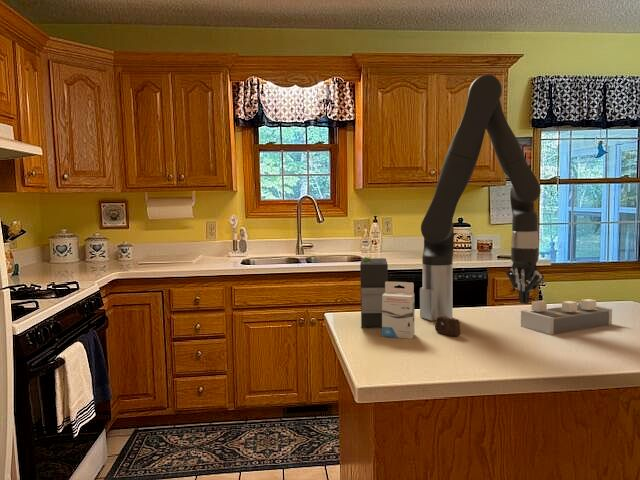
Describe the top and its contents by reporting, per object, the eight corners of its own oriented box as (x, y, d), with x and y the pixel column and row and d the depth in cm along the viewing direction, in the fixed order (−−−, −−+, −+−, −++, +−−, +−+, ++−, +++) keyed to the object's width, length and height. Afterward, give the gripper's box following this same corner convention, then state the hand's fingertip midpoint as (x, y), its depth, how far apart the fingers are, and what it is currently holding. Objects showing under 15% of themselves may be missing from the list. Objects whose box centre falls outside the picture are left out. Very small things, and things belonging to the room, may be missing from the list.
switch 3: (588, 309, 142) (588, 301, 142) (580, 308, 145) (581, 299, 145) (596, 308, 144) (596, 300, 144) (588, 307, 146) (588, 298, 146)
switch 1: (538, 311, 142) (538, 303, 141) (531, 309, 144) (531, 301, 144) (546, 310, 143) (546, 302, 143) (539, 308, 145) (539, 300, 145)
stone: (434, 332, 139) (433, 314, 139) (441, 330, 141) (441, 313, 140) (455, 338, 133) (455, 320, 132) (462, 336, 134) (462, 318, 134)
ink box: (381, 337, 135) (380, 284, 134) (384, 332, 140) (384, 281, 139) (412, 339, 132) (412, 285, 131) (415, 334, 137) (414, 282, 136)
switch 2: (569, 312, 140) (569, 303, 140) (561, 310, 143) (562, 301, 142) (577, 310, 142) (577, 302, 141) (569, 309, 144) (569, 300, 144)
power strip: (550, 334, 134) (550, 318, 133) (520, 326, 143) (521, 310, 143) (611, 324, 143) (612, 308, 143) (580, 316, 153) (580, 302, 152)
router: (386, 315, 161) (385, 254, 160) (388, 329, 143) (387, 261, 142) (361, 314, 162) (361, 254, 160) (361, 329, 144) (360, 261, 142)
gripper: (498, 245, 152) (498, 300, 153) (532, 248, 140) (532, 308, 141) (517, 244, 155) (516, 298, 156) (552, 247, 143) (551, 305, 144)
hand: (524, 303), depth 149 cm, fingers closed
